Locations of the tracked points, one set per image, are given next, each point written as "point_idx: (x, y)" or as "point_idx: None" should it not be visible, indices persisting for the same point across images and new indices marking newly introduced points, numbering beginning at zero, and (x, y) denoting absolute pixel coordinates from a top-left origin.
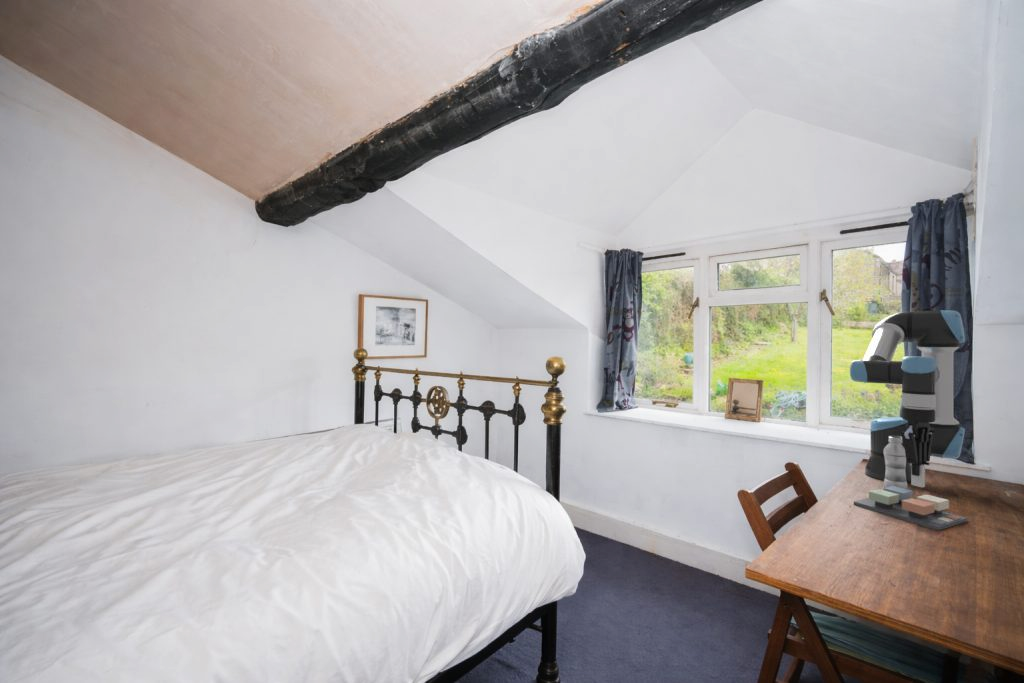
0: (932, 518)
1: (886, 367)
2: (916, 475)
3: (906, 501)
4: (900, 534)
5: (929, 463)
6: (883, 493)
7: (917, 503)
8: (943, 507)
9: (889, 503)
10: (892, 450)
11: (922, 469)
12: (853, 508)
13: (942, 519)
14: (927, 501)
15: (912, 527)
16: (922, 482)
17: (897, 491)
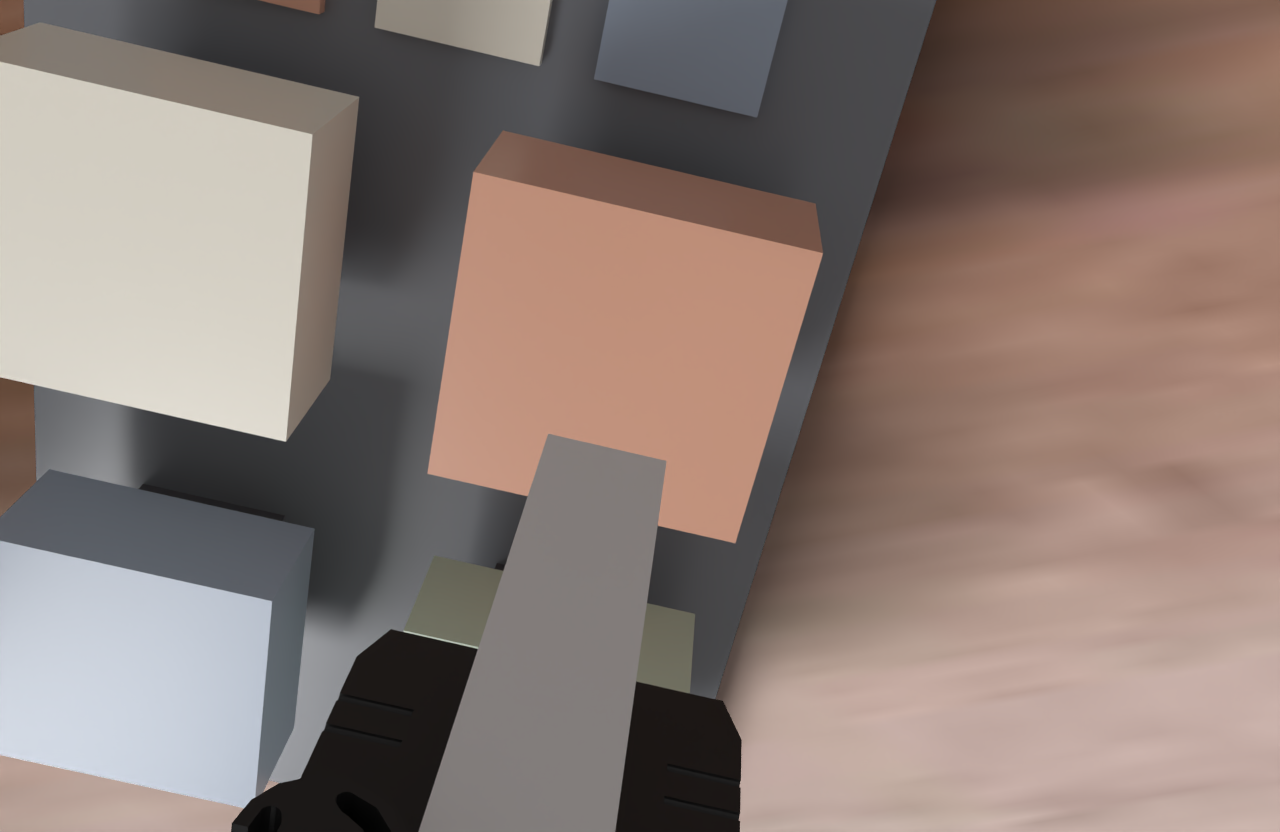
0: (555, 122)
1: None
2: (717, 728)
3: (729, 491)
4: None
5: (245, 809)
6: None
7: (704, 361)
8: (197, 72)
9: (671, 619)
10: None
11: (601, 773)
12: (826, 810)
13: (526, 5)
14: (305, 288)
15: (1064, 237)
16: (642, 522)
17: (255, 669)
